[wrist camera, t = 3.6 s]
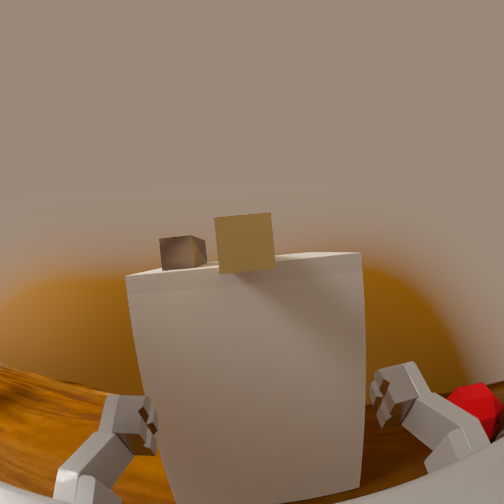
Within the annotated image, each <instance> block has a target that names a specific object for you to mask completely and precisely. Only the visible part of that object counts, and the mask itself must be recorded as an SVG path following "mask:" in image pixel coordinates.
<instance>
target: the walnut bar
mask: <svg viewBox="0 0 504 504" xmlns="http://www.w3.org/2000/svg"><path fill="white" fill-rule="evenodd" d="M159 241H160V253H161V263H162V271H168V270H178V269H189V268H195V267H198V266H200V265H203V264H205V263H207V256H206V246H205V241H204V240H202V239H199V238H197V237H194V236H191V235H190V236H180V237H171V238H163V239H159Z"/></svg>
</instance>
